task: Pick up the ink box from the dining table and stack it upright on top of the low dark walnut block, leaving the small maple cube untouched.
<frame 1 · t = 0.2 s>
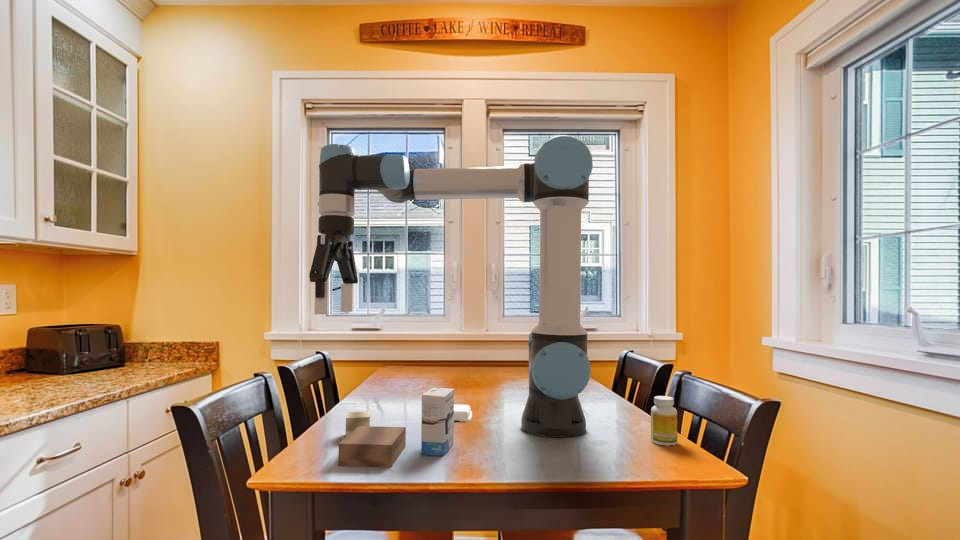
hand: (335, 313, 107), 28 cm above the table, fingers open, 13 cm apart
maple cube: (357, 437, 109), on the table
supplement bottle: (664, 443, 106), on the table
walnut block: (373, 455, 96), on the table
ink box: (438, 450, 101), on the table
soap: (458, 419, 127), on the table
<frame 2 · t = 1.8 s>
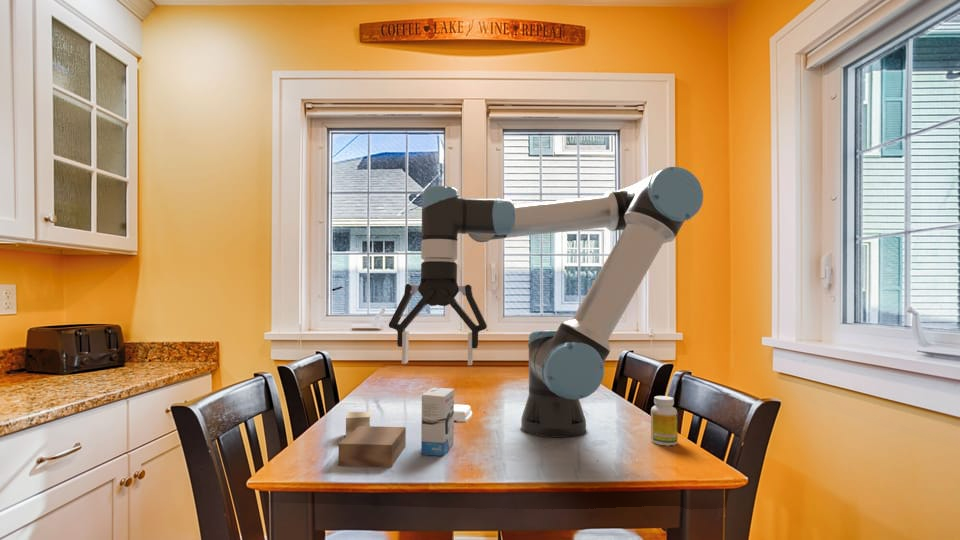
hand: (437, 363, 101), 17 cm above the table, fingers open, 13 cm apart
nothing on the table moved.
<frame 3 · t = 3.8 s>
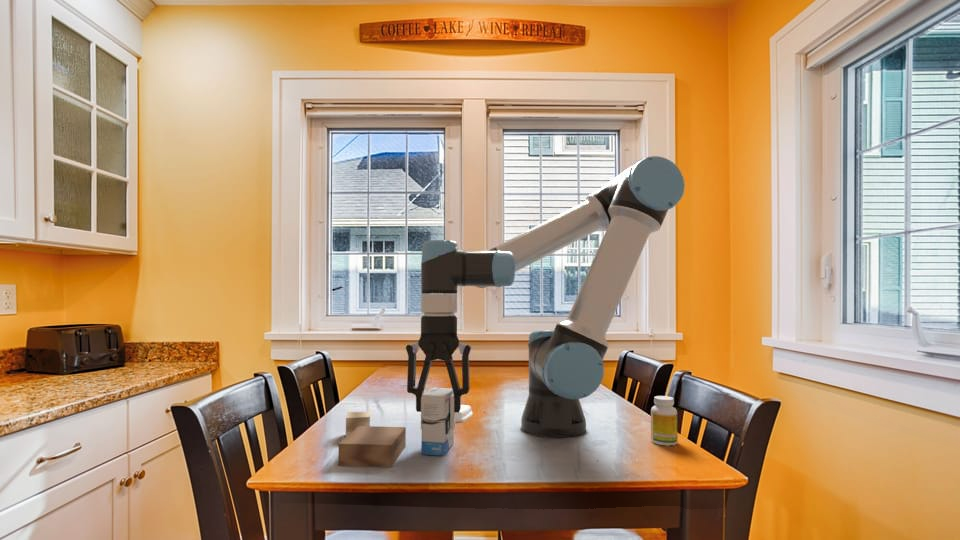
hand: (438, 427, 101), 4 cm above the table, fingers closed on ink box, 5 cm apart
ink box: (438, 450, 101), on the table, touching gripper
everything else where it was.
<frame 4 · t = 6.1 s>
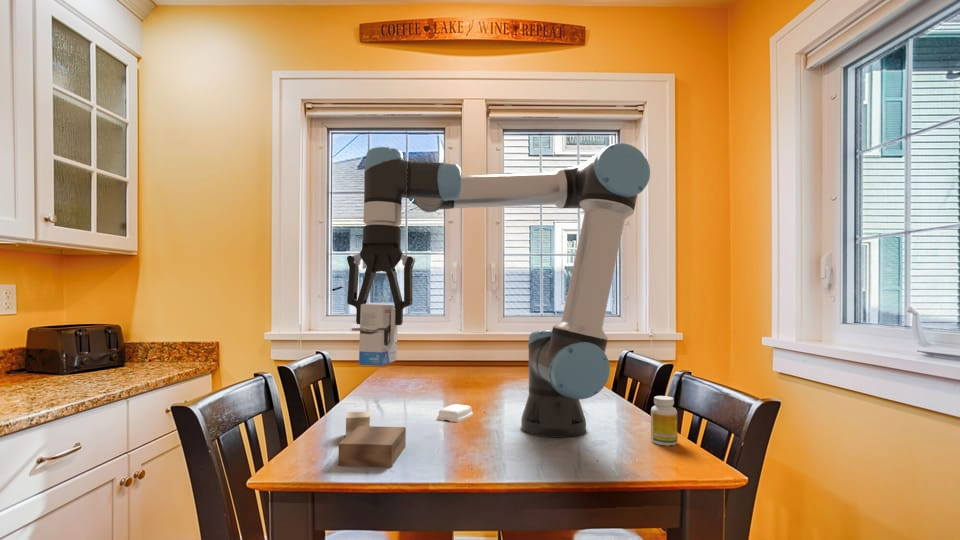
hand: (378, 341, 98), 22 cm above the table, fingers closed on ink box, 5 cm apart
ink box: (378, 364, 98), point 18 cm above the table, touching gripper
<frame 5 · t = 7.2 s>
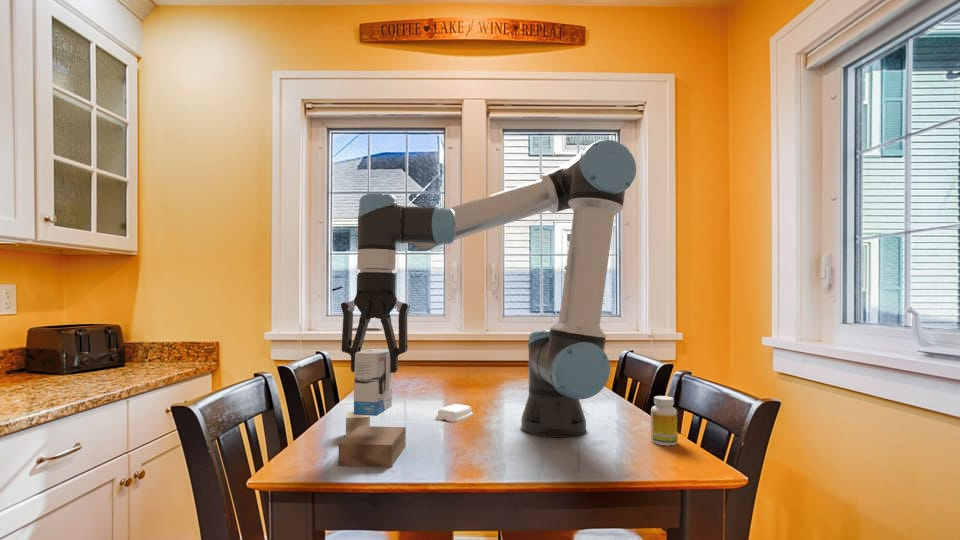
hand: (374, 388, 97), 13 cm above the table, fingers closed on ink box, 5 cm apart
ink box: (373, 411, 97), point 9 cm above the table, touching gripper
when the fingers open (9 cm above the table, at t = 8.3 s): ink box stays where it is, resting on walnut block.
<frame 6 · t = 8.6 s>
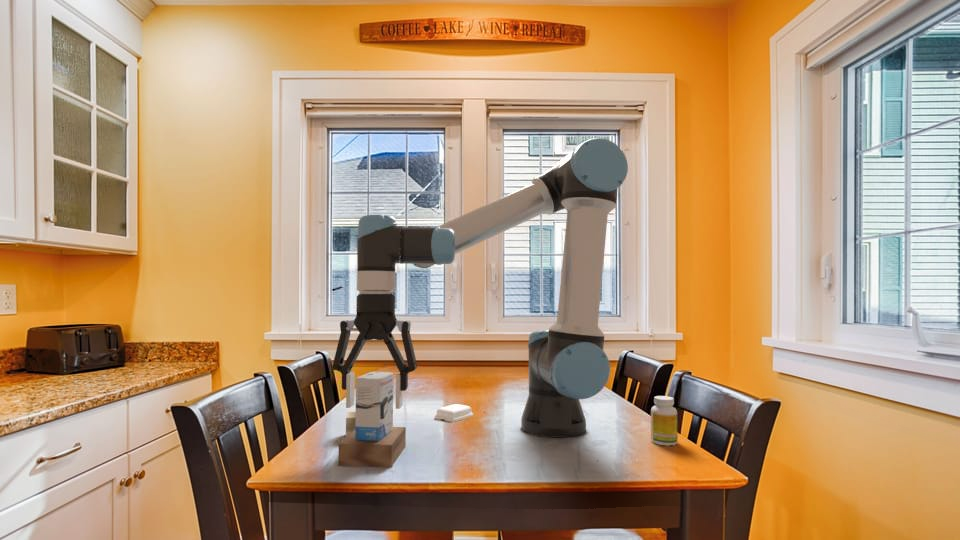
hand: (374, 406, 97), 10 cm above the table, fingers open, 9 cm apart
ink box: (374, 435, 97), point 4 cm above the table, touching walnut block
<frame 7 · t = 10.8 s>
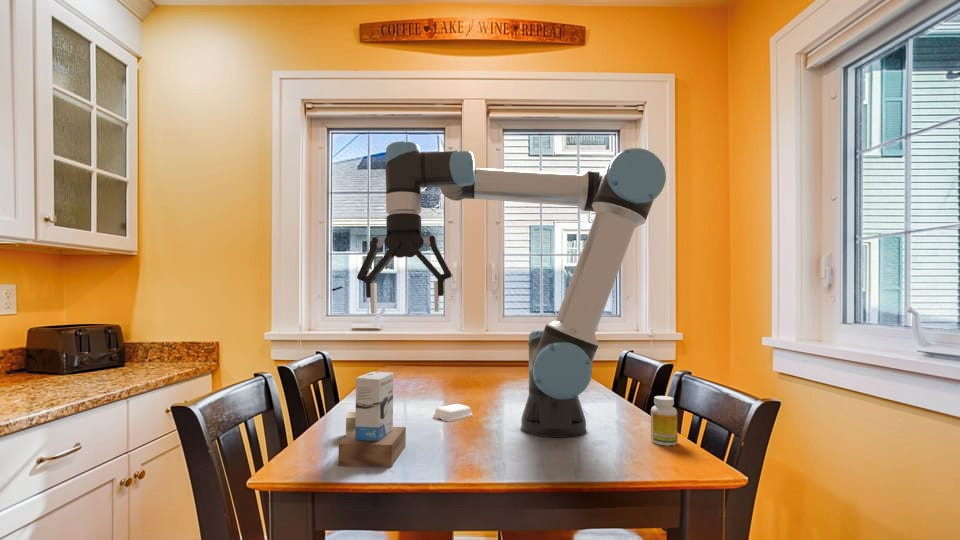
hand: (405, 312, 106), 28 cm above the table, fingers open, 13 cm apart
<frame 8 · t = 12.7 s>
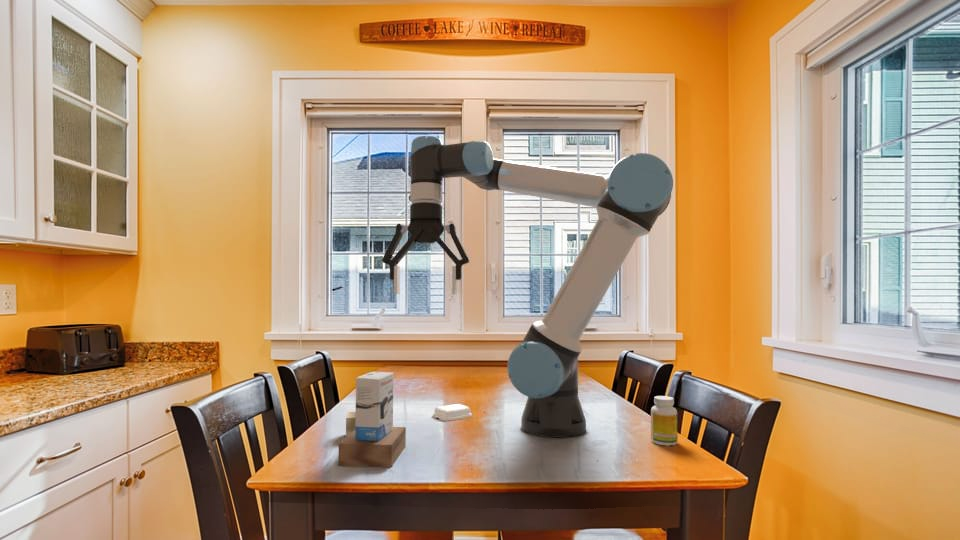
hand: (425, 294, 114), 32 cm above the table, fingers open, 13 cm apart
at the end: ink box inside the target area on the walnut block (0.1 cm from its centre), point 3.8 cm above the walnut block's base; ink box tilted 0°; the gripper is holding nothing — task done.
